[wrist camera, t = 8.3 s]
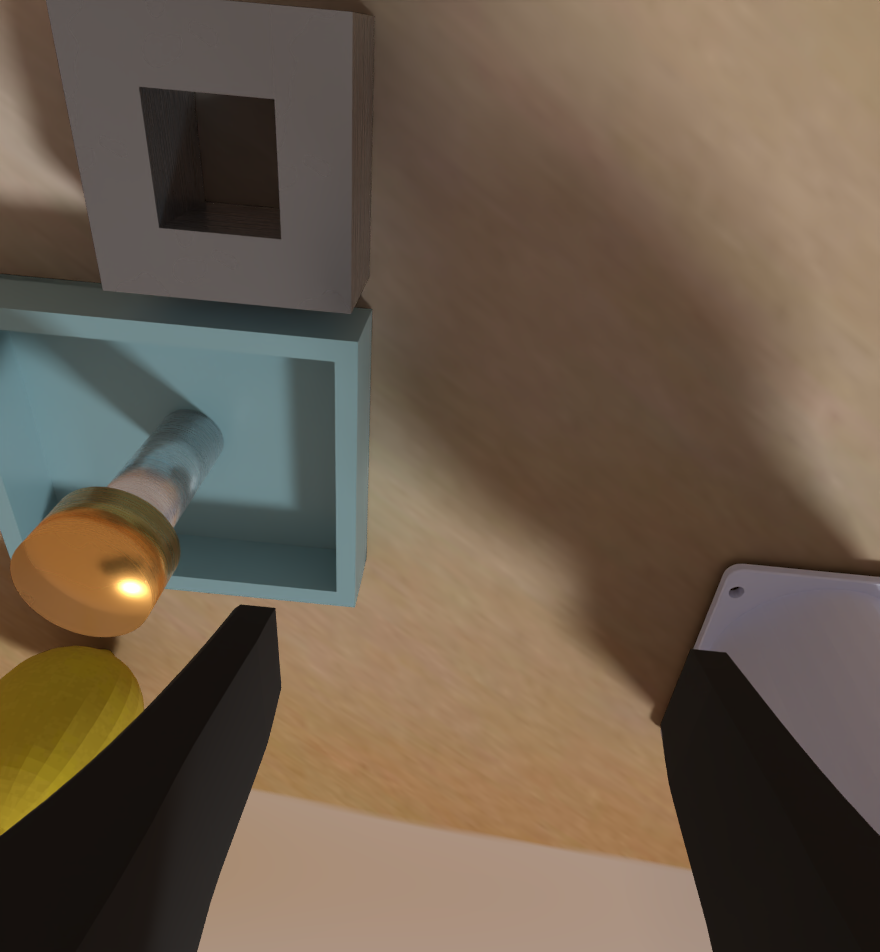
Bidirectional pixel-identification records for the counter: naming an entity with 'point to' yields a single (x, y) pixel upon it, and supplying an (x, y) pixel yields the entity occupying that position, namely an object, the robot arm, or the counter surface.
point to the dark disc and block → (178, 154)
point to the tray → (209, 392)
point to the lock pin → (118, 534)
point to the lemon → (58, 721)
